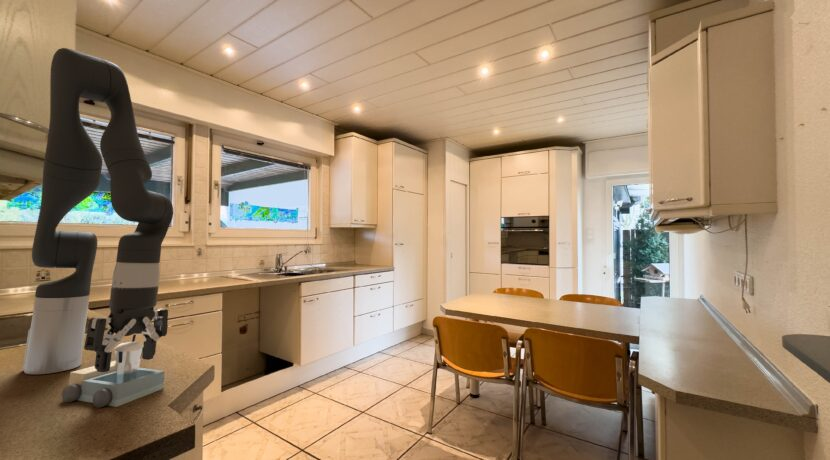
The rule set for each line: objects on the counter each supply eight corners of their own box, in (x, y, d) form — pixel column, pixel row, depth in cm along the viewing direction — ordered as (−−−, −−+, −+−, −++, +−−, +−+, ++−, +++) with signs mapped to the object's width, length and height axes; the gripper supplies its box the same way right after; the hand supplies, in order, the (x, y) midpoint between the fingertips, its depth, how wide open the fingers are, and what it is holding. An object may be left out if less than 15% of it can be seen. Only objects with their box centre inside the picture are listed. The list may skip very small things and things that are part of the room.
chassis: (56, 400, 63) (59, 375, 63) (120, 380, 74) (122, 358, 75) (109, 409, 60) (112, 382, 61) (167, 386, 71) (170, 364, 72)
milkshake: (143, 381, 71) (148, 333, 72) (135, 390, 66) (141, 339, 67) (115, 384, 69) (121, 335, 70) (105, 394, 64) (112, 341, 65)
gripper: (112, 288, 61) (101, 378, 60) (181, 283, 75) (173, 357, 73) (81, 285, 63) (69, 374, 61) (154, 281, 77) (146, 353, 75)
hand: (126, 364), depth 67 cm, fingers open, 8 cm apart
